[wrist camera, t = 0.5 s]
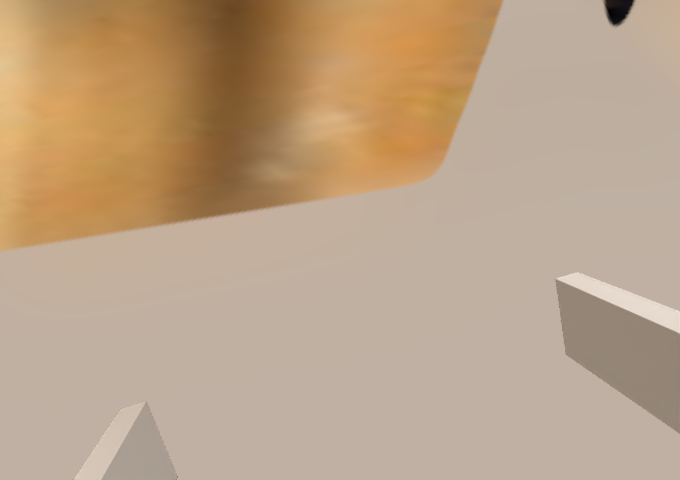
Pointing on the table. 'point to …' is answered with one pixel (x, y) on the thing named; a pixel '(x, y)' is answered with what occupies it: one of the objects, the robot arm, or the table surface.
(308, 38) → the table surface
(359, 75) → the table surface
